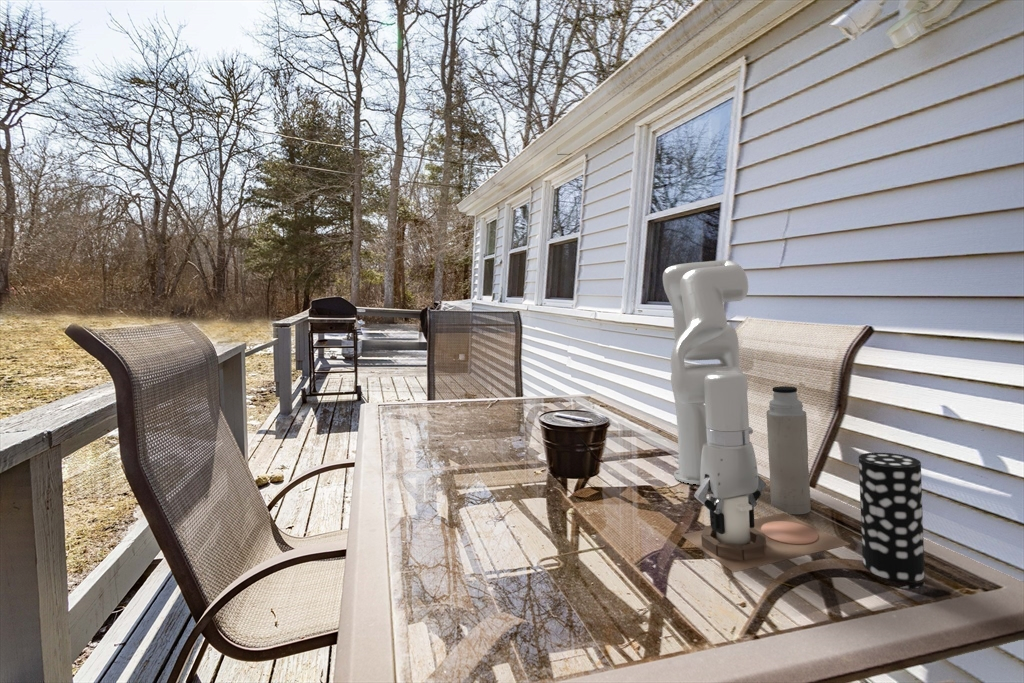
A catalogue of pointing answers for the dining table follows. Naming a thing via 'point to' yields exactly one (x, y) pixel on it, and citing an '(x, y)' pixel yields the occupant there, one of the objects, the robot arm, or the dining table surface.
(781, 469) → the thermos bottle
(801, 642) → the dining table surface
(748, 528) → the white ceramic pitcher
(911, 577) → the white-spotted black cylinder
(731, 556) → the holder board
